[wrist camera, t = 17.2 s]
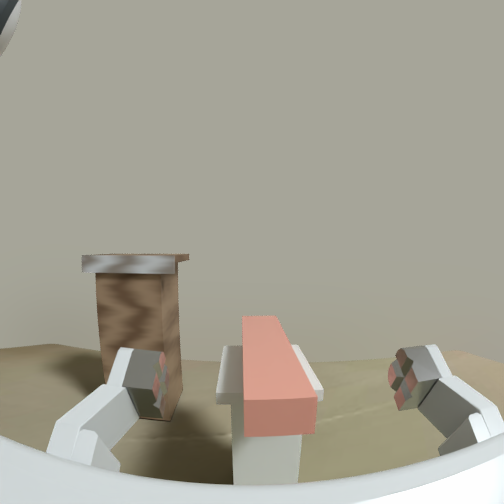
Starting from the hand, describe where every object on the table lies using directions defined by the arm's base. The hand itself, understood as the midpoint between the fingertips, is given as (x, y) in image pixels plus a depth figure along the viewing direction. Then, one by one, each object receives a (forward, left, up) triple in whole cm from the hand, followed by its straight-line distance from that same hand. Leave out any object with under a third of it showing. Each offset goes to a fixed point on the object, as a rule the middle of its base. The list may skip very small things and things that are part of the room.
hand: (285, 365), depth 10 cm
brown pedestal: (-17, +39, -22) cm, 48 cm away
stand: (+1, +18, -22) cm, 28 cm away
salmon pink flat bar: (+1, +17, -7) cm, 18 cm away
